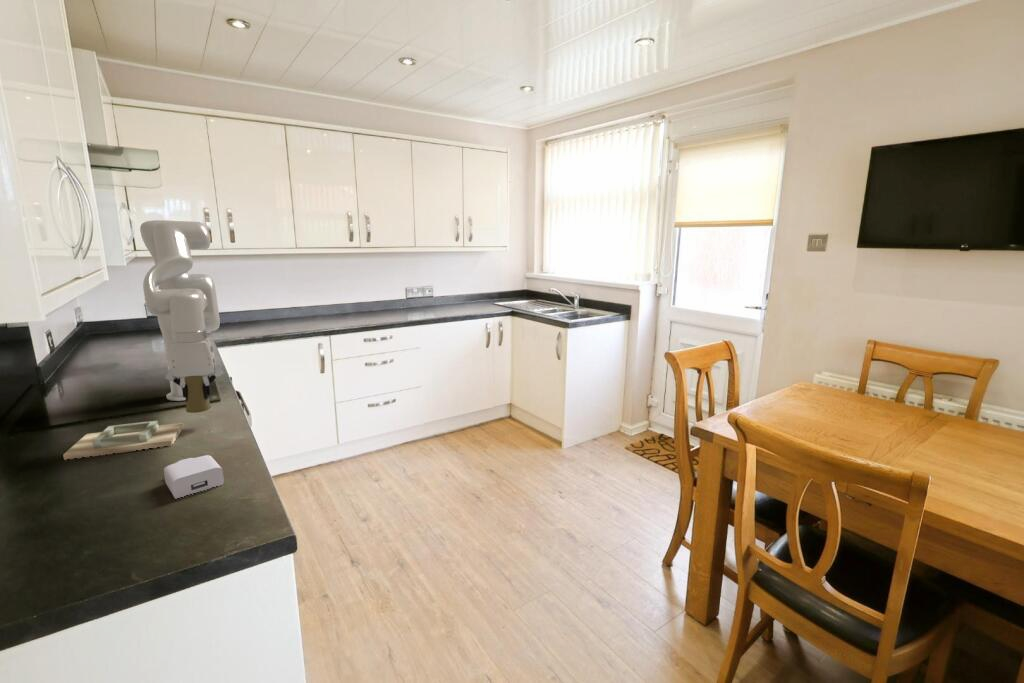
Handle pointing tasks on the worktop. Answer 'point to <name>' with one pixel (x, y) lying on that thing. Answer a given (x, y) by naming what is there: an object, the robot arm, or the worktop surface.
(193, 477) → the charger
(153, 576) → the worktop surface
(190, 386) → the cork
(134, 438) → the socket board
